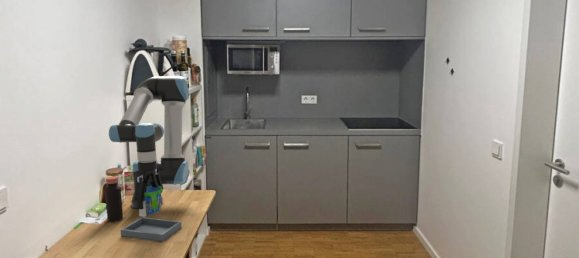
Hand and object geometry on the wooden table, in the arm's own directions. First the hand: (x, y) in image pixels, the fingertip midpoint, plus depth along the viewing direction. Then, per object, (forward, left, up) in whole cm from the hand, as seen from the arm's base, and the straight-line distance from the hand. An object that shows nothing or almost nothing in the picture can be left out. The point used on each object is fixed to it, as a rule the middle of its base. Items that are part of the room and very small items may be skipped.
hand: (150, 211), depth 192 cm
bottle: (-8, -25, -10) cm, 28 cm away
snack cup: (0, 0, 0) cm, 0 cm away
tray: (0, 0, -9) cm, 9 cm away
